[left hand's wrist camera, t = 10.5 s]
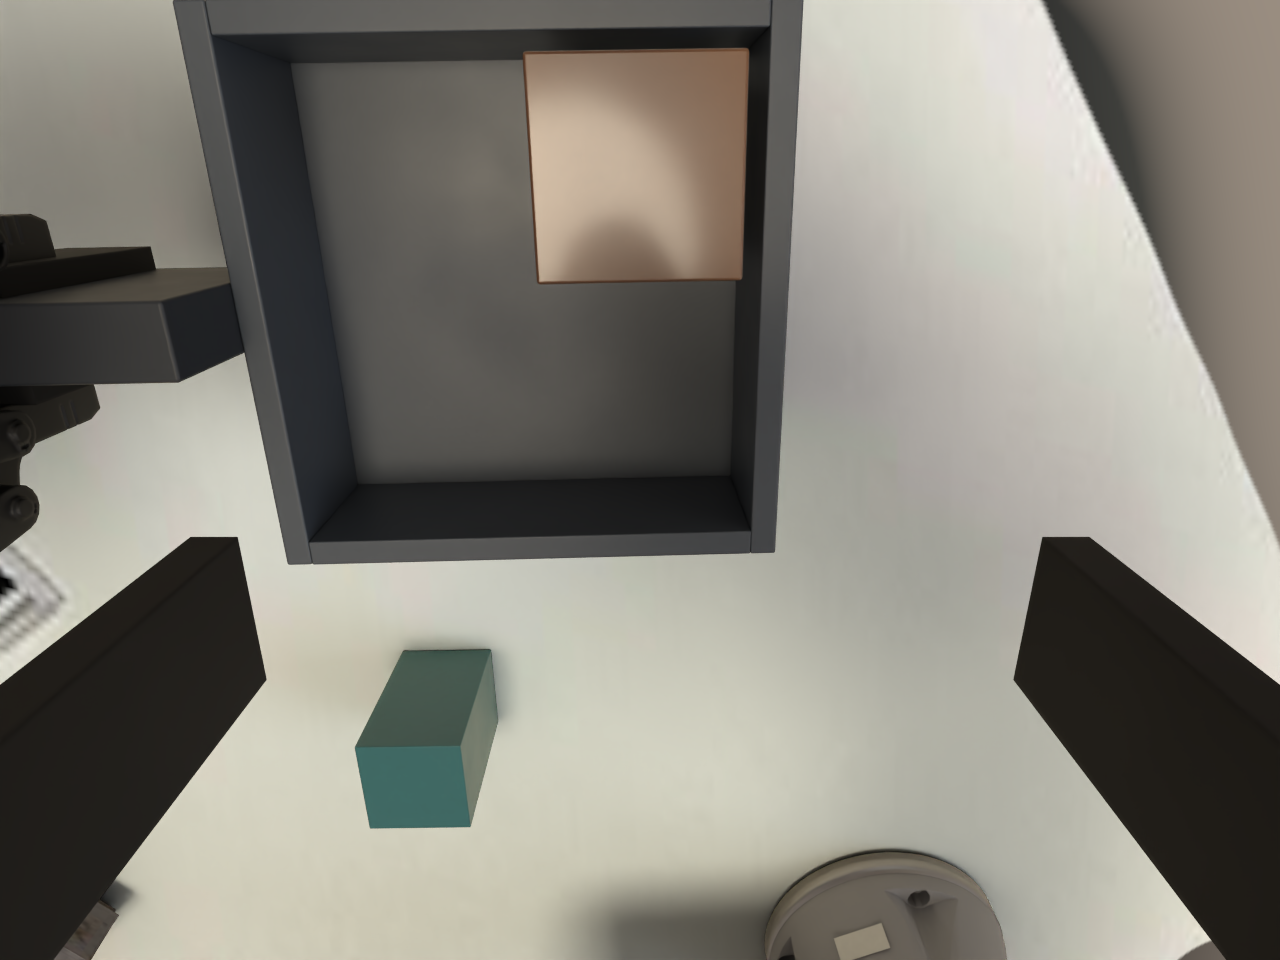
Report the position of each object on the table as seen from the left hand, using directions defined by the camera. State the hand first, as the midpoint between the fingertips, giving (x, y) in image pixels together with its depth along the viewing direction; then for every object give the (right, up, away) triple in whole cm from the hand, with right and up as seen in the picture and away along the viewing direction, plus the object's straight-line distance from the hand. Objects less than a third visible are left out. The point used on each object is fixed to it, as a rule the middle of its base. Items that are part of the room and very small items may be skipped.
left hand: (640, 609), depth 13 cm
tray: (-8, +9, +14) cm, 19 cm away
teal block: (-11, -10, +32) cm, 35 cm away
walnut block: (0, +12, +12) cm, 17 cm away
